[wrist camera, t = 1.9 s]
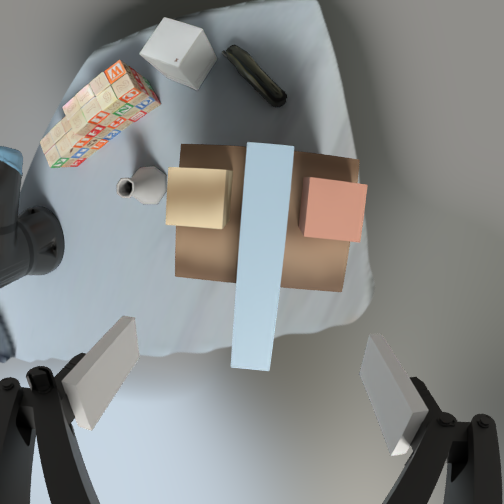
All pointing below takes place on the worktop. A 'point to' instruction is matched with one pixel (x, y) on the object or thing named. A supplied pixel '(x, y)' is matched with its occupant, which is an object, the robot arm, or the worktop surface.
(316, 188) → the brick cube
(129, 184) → the flask
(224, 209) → the oak cube
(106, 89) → the stack of blocks
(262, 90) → the mobile phone
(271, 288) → the blue bar
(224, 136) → the worktop surface
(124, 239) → the worktop surface
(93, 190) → the worktop surface
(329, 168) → the walnut stand
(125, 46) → the worktop surface
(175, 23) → the supplement box
